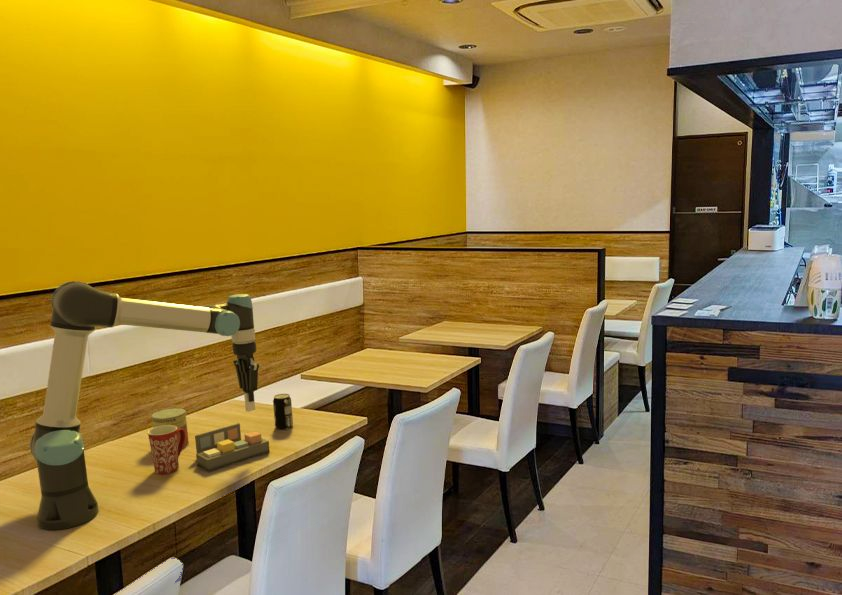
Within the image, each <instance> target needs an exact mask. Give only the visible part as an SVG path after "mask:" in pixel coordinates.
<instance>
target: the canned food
mask: <svg viewBox="0 0 842 595" xmlns="http://www.w3.org/2000/svg"><path fill="white" fill-rule="evenodd" d="M186 413H187V412H186V409H184V408H179V407H178V408H177V407H174V408H165V409H160V410H158V411H155V412H153V413H152V414H151V419H152V428H155V427H158V426H164V425H173V426H176V427H177V428H180V429H183V430H184V432H185V441H184V445H183V448H182V450H183V449H185V448H186V447H188V446H189V444H190V441H189V432H188V423H187V414H186ZM179 442H180V432H178V433H177V443H178V445H179Z"/></svg>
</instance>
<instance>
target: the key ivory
mask: <svg viewBox="0 0 842 595" xmlns="http://www.w3.org/2000/svg"><path fill="white" fill-rule="evenodd" d="M219 454H221V453H220V451H219V450H217V449H215V448H214V449H211V450H207V451H204V452H203V455H204V456H206V457H208V458H210V457H213V456H216V455H219Z"/></svg>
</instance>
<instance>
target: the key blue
mask: <svg viewBox="0 0 842 595" xmlns="http://www.w3.org/2000/svg"><path fill="white" fill-rule="evenodd" d="M243 440H244V439H241V440H240V441H237V442H234V447H235V448H236V449H239V448H242V447H245V446H248V442H246V441H243Z"/></svg>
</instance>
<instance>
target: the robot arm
mask: <svg viewBox="0 0 842 595" xmlns="http://www.w3.org/2000/svg"><path fill="white" fill-rule="evenodd" d="M50 303H51V308H52V311H51V317H50V324H49V327H50V328H51V329H52V330H53V332H54V338H53V344H52V352H51V358H50V359H51V360H50V364H49V372H48V379H47V384H46V385H47V386H46V391H45V398H44V399H45V400H44V405H43V406H44V408H43V414H42V415H40V416H39V417H38V418H37V419H36V421H35V425H34V426H35V427H34V432H33V434H32V436H31V439H30V444H29V450H30V452H31V454H32V457H33V459H34V462H35V465H36V467H37V473H38V479H39V487H40V494H41V498H40V501H39V507H38V511H37V515H36V520H37V526H38V527H39V528H40V529H42V530H47V531H48V530H49V531H58V530H65V529H71V528H75V527H77V526H80V525H83V524H85V523H88V522H89V521H91V520H92V519H94V518H95V517H96V516H97V515H98V513H99V512H100V511H99V510H100V509H99V503H98V501H97V499H96V497H95V496H94V494H93V492H92V489H91V488H90V486H89V481H88V480H89V479H88V473H87V465H86V458H85V444H84V441H83V437H82V435H81V433H80V430H81V423H82V422H81V420H80V419H78V417H77V413H78V404H79V399H80V398H79V397H80V391H81V385H82V377H83V371H84V364H85V357H86V352H87V351H86V350H87V344H88V343H87V342H88V338H89V337H88V336H90V335H91V334H92V333H94V332H95V328H97V327H99V328H100V327H102V328H114V327H115V326H117V325H121V326H131V327H132V326H133V327H143V328H154V329H162V330H163V329H164V330H174V331H187V332H197V333H207V334H214V335H215V334H217V335H220V336H223V337H230V336H231V338H230V339H231V342H232V344H231V345H232V353H233V355H236V359H234V360H233V365H234V366H235V372H236V375H237V382H238V385H239V389H240V390H241V389H242V391H243V395H244V407H245V411H246V412H247V413H249V412H252V411H255V410H256V402H255V393H254V392H255V391H257V390H258V379H259V378H258V377H259V375H258V374H259V368H260V364H259V363H255V358H254V354H255V353H256V352H257V343H256V342H257V341H255V340H256V333H255V332H256V329H255V323H254V322H255V320H254V310H253V309H254V307H253V301H252V297H251V296H250V295H249V294H247V293H238V294H233V295H229V296H228V297H227V302H224V303H217V304H210V305H209V304H208V305H200V306H194V305H187V304H177V303H169V302H162V301H161V302H160V301H154V300H153V301H152V300H143V299H137V298H136V299H135V298H127V297H121V296H120V295H119V294H118V293H116V292H108V291H104V290H101V289H98V288H96V287H93V286H91V285H90V284H88V283H86V282H82V281H80V280H78V281H68V282H65V283H63V284H61V285H59V286H58V287H57V288H56V289H55V290H54V292H53V293H52V296H51V301H50Z"/></svg>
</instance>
